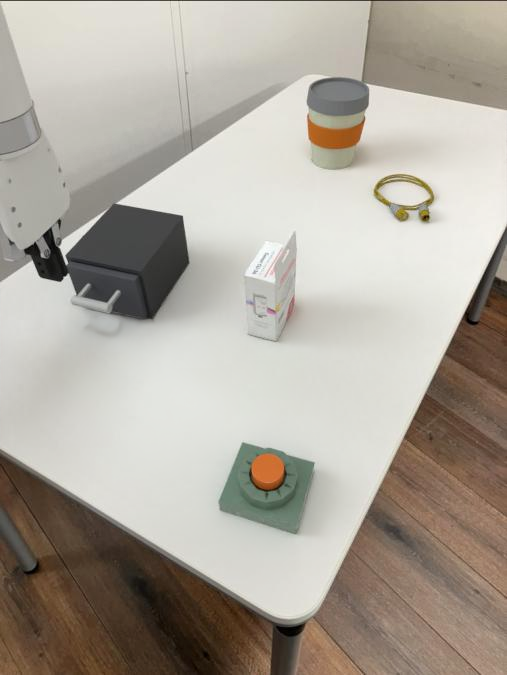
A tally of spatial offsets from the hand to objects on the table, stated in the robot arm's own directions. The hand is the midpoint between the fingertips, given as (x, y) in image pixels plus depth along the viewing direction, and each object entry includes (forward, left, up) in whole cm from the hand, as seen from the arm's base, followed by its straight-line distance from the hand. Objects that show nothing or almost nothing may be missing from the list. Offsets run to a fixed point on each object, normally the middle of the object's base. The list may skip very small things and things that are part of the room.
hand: (54, 275), depth 63 cm
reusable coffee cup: (+21, +68, -16) cm, 73 cm away
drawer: (-1, +14, -15) cm, 20 cm away
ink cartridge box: (+23, +16, -16) cm, 32 cm away
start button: (+31, -11, -12) cm, 35 cm away
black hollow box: (-1, +18, -16) cm, 24 cm away
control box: (+31, -11, -16) cm, 37 cm away
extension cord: (+38, +56, -16) cm, 69 cm away
